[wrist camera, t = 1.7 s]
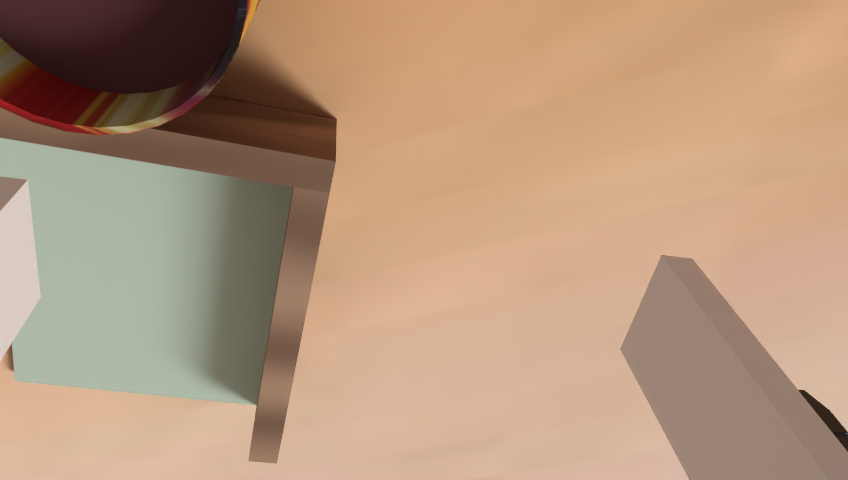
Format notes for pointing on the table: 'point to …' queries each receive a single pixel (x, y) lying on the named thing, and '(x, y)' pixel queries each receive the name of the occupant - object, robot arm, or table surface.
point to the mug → (114, 59)
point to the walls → (248, 159)
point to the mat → (147, 275)
